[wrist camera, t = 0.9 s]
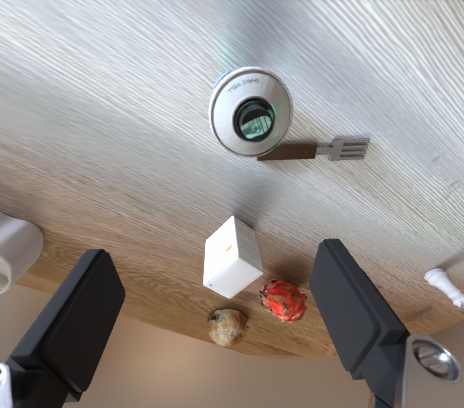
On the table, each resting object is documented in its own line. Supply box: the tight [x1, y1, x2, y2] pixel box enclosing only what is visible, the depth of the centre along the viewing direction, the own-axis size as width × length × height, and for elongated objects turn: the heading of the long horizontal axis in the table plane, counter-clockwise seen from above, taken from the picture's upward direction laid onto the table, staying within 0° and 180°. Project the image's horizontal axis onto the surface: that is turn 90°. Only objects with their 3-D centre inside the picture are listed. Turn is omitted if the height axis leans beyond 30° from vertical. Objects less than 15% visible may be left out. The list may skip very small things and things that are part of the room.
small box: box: [203, 216, 264, 299], centre depth 36 cm, size 8×6×10 cm
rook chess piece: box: [424, 268, 464, 308], centre depth 47 cm, size 4×4×8 cm
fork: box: [257, 139, 370, 161], centre depth 33 cm, size 17×3×1 cm, turn 91°
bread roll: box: [207, 309, 249, 347], centre depth 53 cm, size 10×10×8 cm
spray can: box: [209, 66, 293, 158], centre depth 20 cm, size 6×6×20 cm
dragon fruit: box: [259, 279, 307, 323], centre depth 47 cm, size 8×8×12 cm
